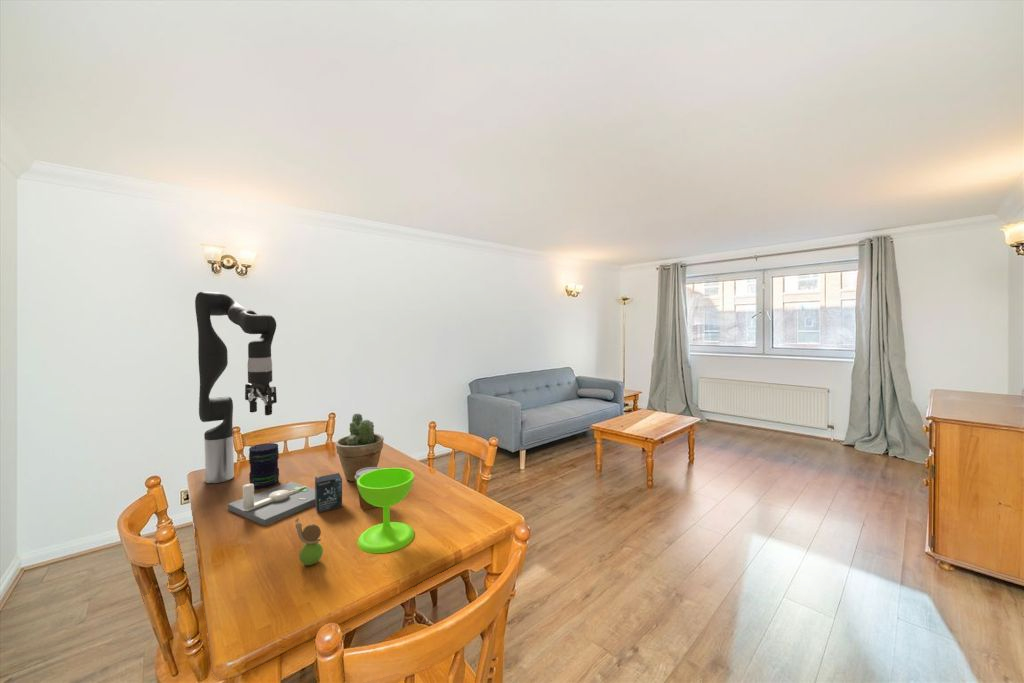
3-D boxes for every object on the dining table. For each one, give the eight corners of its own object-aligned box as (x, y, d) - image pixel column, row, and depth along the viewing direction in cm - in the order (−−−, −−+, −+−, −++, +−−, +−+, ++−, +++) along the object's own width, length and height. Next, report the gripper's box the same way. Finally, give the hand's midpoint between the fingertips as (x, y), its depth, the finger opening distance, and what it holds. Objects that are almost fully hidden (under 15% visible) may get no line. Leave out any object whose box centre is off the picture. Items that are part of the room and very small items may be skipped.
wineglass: (356, 530, 120) (355, 472, 119) (410, 520, 126) (409, 464, 125) (358, 558, 105) (357, 492, 104) (418, 545, 111) (418, 483, 110)
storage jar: (282, 478, 160) (281, 442, 159) (275, 487, 150) (275, 449, 150) (253, 481, 157) (253, 444, 156) (245, 491, 147) (244, 451, 147)
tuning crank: (301, 485, 147) (300, 464, 146) (311, 488, 144) (310, 467, 144) (238, 509, 128) (238, 485, 128) (249, 513, 125) (248, 488, 125)
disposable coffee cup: (390, 502, 138) (389, 468, 138) (369, 514, 130) (369, 478, 129) (369, 497, 142) (369, 464, 142) (348, 508, 134) (348, 473, 133)
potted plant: (393, 474, 165) (392, 415, 164) (354, 489, 149) (354, 424, 148) (365, 465, 174) (364, 410, 173) (326, 479, 159) (325, 418, 158)
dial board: (227, 509, 132) (227, 503, 132) (291, 486, 152) (291, 480, 151) (264, 526, 122) (264, 519, 122) (328, 499, 141) (327, 492, 141)
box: (317, 513, 130) (316, 482, 130) (315, 507, 135) (314, 476, 134) (342, 507, 134) (342, 477, 134) (339, 501, 139) (339, 472, 139)
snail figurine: (301, 557, 105) (300, 514, 105) (325, 556, 106) (325, 513, 105) (291, 570, 100) (290, 524, 99) (317, 569, 100) (317, 523, 100)
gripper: (237, 369, 142) (238, 413, 143) (262, 372, 136) (263, 418, 137) (257, 367, 149) (258, 409, 150) (282, 369, 143) (283, 413, 144)
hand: (260, 413), depth 143 cm, fingers open, 8 cm apart
